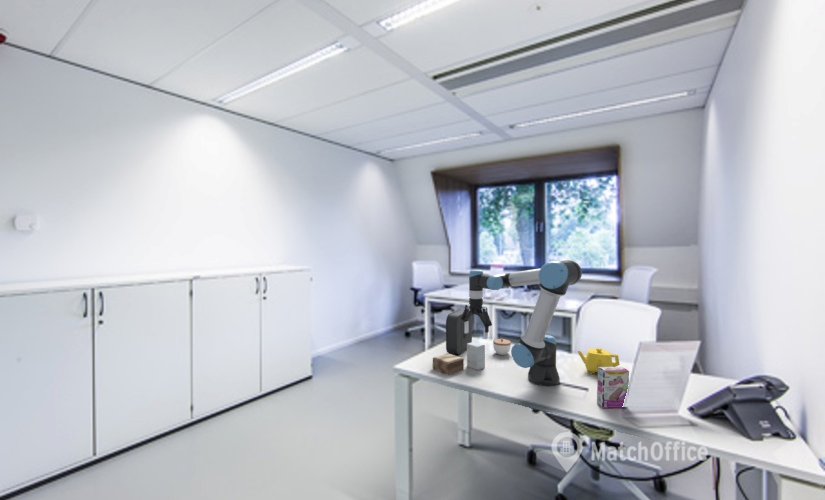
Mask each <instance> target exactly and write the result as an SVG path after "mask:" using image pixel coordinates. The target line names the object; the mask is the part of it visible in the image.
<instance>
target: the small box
mask: <svg viewBox="0 0 825 500" xmlns="http://www.w3.org/2000/svg"><path fill="white" fill-rule="evenodd" d="M466 366H467V367H468V368H471V369H474V370H476V371H479V370H482V369H485V368H486V344H484V343H480V342H477V341H472V342H471V343H467V350H466Z"/></svg>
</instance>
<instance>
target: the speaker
mask: <svg viewBox="0 0 825 500" xmlns="http://www.w3.org/2000/svg"><path fill="white" fill-rule="evenodd" d="M464 310H465V309H464ZM464 310H463V309H457V310H454V311H452V312H449V314H448V315H447V316H446V320H445V350H446V352H447V353H449V354H453V355H457V356H460V355H462V354H463V353H465V352H467V343H471V342H473V314H472V315H471V317H470V318H469V319H468V321H469V333H464V321H463V320H461V317H462V314H463V312H464ZM469 311H470V309H469ZM469 311H468V312H469ZM467 314H468V313H467ZM466 316H467V315H466Z"/></svg>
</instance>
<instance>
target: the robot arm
mask: <svg viewBox="0 0 825 500" xmlns="http://www.w3.org/2000/svg"><path fill="white" fill-rule="evenodd" d="M582 275H583V271H582V268H581V265H580V264H579V263H577V262H576V261H574V260H569V259H565V260H552V261H548V262H546V263H544V264H543V265H542V266H541V267H540V268H535V269H527V270H522V271H521V270H520V271H515V272H514V271H513V272H507V273H499V274H484V271H483V270H481V269H471V270H470V271H469V275H468V276H469V277H468V281H469V283H468V284H469V285H468V286H469V287H468V297H469V299H468V300H469V301H468V304H465V305H464V312H463V314H462V317H461V320H463V321H464V333H469V321H468V319H469V318H470V317H471V315H472V316H473V315H475V316H478V317H479V319H480V320H481V322H482V324H483V327H482V328H483V334H482V335H483V339H487V338H489V337H488V334H489V331H490V330H489V329H490V327H491V326H492V325H493V323H492V320H491V318H490V315H489V313H488V312H489V311H488V308H487V307H483V304H484V300H483V299H484V297H483V296H484V289H486V290H491V291H499V290H501V289H502V288H511V287H520V286H531V285H539V286H538V287H540V293H539V295H538V298H537V300H536V303H535V306H534V309H533V311H532V313H531V317H530V320H529V322H528V325H527V328H526V331H525V332H524V333H522V334H520V337H519V340H518V342H517V343H514V345H512V347H511V348H510V353H511V357H512V360H513V361H514V363H515V364H516V365H517V366H519V367H520V368H523V369H527V368H529V369H528V372H527V380H528V381H530V382H531V383H533V384H536V385H539V386H548V387H552V386H554V387H555V386H558V385H559V384H560V381H561V380H560V379H561V377H560V375H559V372H558V369H557V339H556V337H554V335H550V334H547V332H548V329H549V326H550V325H551V323H552V322H551V321H552V319H553V317H554V314H555V311H556V308H557V307H558V304H559V302H560V299H561V297H563V296H565V295H566V293H567V291H568V288H569V286H573V285H575V284H577V283H578V282H580V280H581V279H582ZM469 310H470V311H469ZM468 311H469V312H468ZM467 313H468V314H467ZM466 315H467V316H466Z"/></svg>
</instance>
